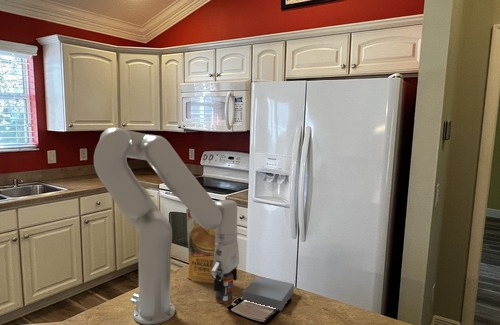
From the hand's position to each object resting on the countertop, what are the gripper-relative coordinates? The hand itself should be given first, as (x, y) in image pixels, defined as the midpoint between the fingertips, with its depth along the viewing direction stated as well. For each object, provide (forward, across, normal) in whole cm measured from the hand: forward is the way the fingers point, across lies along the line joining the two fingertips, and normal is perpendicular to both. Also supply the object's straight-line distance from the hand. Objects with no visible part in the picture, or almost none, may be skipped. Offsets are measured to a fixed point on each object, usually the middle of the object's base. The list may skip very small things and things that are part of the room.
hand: (225, 285), depth 116 cm
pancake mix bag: (+5, +10, +13) cm, 18 cm away
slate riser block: (+6, +8, -13) cm, 16 cm away
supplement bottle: (+5, 0, 0) cm, 5 cm away
